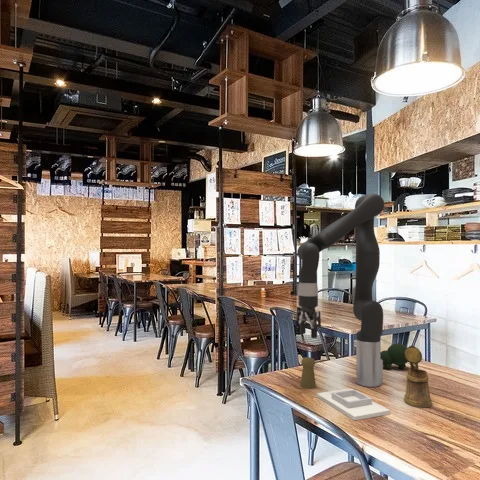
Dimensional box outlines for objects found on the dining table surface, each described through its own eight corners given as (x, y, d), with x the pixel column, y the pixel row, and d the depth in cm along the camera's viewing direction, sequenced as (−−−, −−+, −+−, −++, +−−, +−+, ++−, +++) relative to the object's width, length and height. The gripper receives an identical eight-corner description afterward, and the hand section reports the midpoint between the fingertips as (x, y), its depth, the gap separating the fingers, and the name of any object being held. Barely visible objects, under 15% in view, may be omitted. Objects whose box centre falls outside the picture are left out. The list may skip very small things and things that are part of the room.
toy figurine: (361, 373, 184) (421, 371, 180) (357, 330, 184) (416, 327, 180) (358, 367, 193) (415, 365, 189) (354, 326, 193) (411, 323, 190)
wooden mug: (424, 394, 154) (424, 345, 154) (435, 408, 140) (435, 355, 140) (399, 393, 155) (399, 344, 155) (407, 406, 142) (407, 353, 142)
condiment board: (348, 391, 156) (348, 383, 156) (390, 413, 136) (390, 404, 136) (316, 396, 151) (316, 387, 151) (354, 420, 131) (354, 410, 131)
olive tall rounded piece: (315, 389, 159) (315, 360, 159) (299, 388, 160) (299, 359, 160) (316, 384, 165) (316, 356, 165) (300, 383, 166) (300, 355, 166)
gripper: (326, 295, 158) (326, 338, 157) (307, 291, 171) (307, 331, 171) (309, 296, 155) (309, 340, 155) (290, 292, 168) (290, 332, 168)
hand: (308, 335), depth 163 cm, fingers open, 8 cm apart
